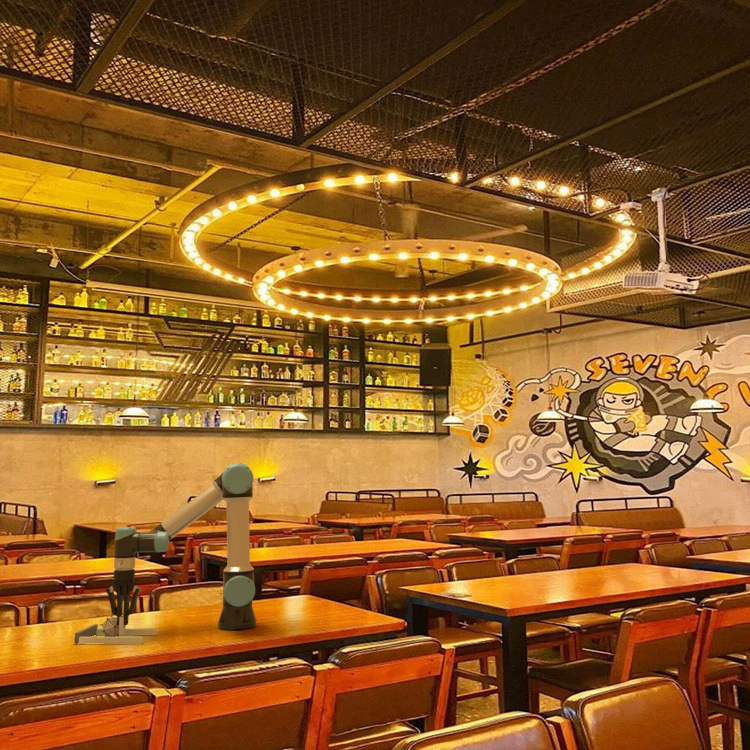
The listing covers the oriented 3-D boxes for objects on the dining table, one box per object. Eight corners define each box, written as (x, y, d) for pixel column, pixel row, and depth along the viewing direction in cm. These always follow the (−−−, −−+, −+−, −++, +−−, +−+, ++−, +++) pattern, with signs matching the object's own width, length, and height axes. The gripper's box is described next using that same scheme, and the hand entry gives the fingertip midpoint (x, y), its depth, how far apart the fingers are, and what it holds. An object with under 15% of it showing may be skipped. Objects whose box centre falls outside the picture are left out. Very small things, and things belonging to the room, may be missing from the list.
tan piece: (157, 635, 282) (157, 624, 283) (141, 644, 266) (142, 633, 267) (92, 635, 283) (93, 624, 284) (73, 644, 267) (74, 633, 268)
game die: (121, 647, 276) (94, 641, 276) (130, 629, 283) (104, 624, 284) (121, 630, 272) (94, 624, 272) (130, 612, 279) (104, 607, 279)
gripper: (103, 570, 275) (100, 636, 271) (137, 570, 274) (135, 636, 271) (111, 567, 282) (109, 632, 279) (145, 567, 281) (143, 632, 278)
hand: (122, 634), depth 275 cm, fingers closed
